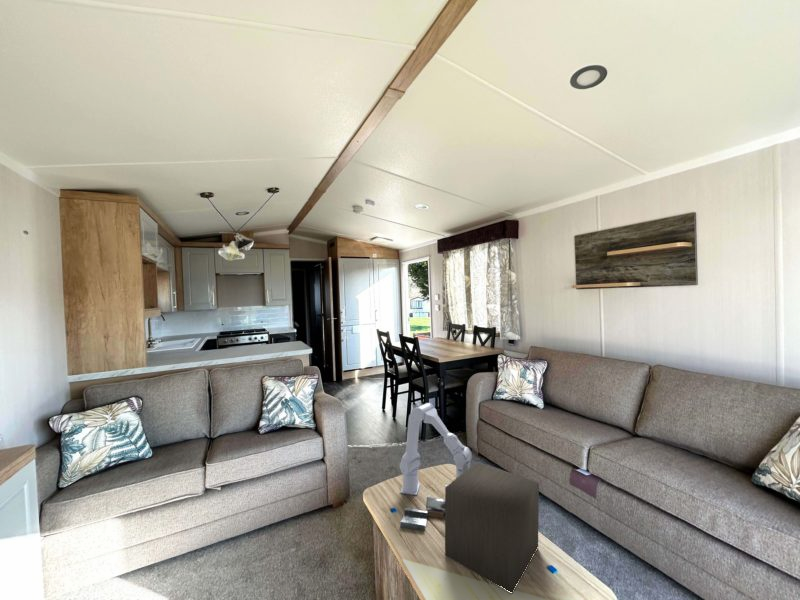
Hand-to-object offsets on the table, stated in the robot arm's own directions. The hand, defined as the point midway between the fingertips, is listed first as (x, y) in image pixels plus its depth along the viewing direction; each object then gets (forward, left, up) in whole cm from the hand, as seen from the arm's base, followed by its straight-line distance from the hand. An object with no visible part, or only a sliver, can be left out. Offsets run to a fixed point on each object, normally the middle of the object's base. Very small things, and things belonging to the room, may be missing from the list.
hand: (462, 508), depth 146 cm
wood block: (+19, +11, -3) cm, 22 cm away
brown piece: (0, -12, -3) cm, 12 cm away
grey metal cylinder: (0, -10, -3) cm, 10 cm away
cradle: (+9, -20, -3) cm, 22 cm away
